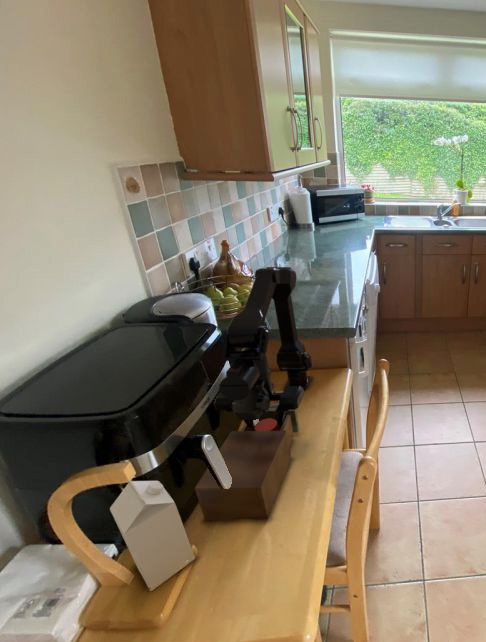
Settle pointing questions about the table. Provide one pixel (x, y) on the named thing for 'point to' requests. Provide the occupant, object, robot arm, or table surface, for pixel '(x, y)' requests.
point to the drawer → (288, 425)
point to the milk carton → (152, 531)
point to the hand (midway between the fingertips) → (266, 425)
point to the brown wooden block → (247, 476)
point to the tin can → (266, 425)
